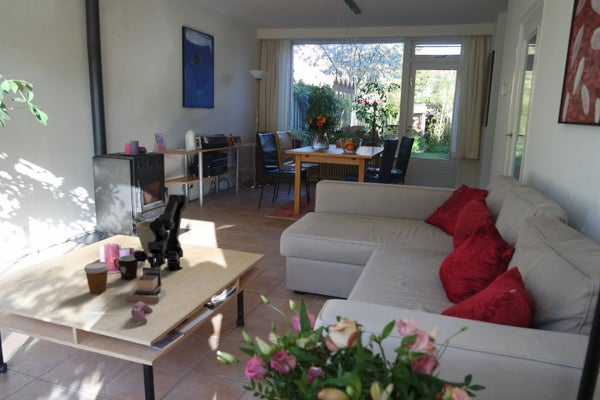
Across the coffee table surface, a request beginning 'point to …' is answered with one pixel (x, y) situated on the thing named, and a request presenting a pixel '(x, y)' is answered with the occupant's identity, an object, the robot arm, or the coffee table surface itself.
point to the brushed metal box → (149, 281)
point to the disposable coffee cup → (97, 277)
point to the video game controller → (140, 311)
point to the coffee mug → (127, 267)
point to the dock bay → (144, 297)
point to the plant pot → (145, 234)
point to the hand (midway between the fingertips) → (152, 274)
